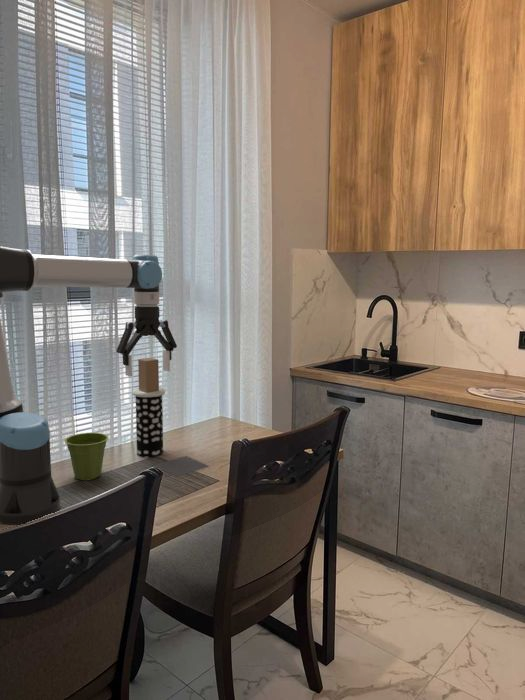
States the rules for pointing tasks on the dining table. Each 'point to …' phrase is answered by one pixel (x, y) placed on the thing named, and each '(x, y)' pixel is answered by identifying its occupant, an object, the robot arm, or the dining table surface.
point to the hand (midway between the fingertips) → (148, 373)
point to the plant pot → (87, 454)
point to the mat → (181, 466)
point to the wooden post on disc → (148, 379)
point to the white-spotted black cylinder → (149, 426)
